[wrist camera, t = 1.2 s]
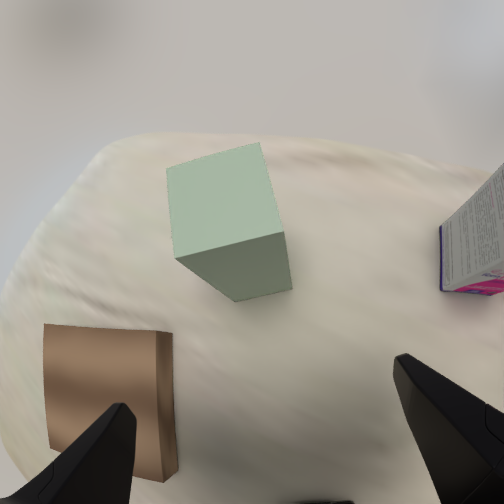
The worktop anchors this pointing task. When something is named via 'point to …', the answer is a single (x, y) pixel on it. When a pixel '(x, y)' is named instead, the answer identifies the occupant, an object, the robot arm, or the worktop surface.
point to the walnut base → (112, 389)
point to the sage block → (229, 223)
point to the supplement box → (475, 242)
